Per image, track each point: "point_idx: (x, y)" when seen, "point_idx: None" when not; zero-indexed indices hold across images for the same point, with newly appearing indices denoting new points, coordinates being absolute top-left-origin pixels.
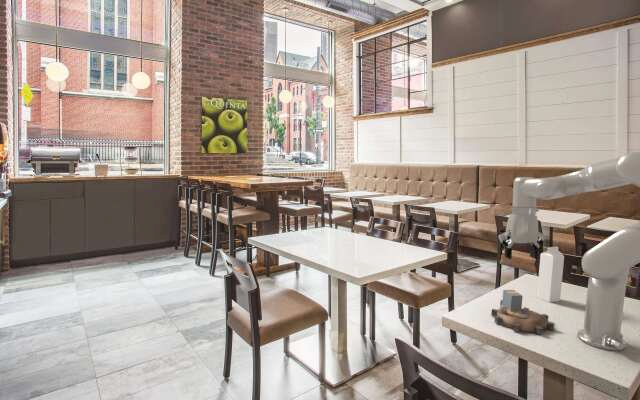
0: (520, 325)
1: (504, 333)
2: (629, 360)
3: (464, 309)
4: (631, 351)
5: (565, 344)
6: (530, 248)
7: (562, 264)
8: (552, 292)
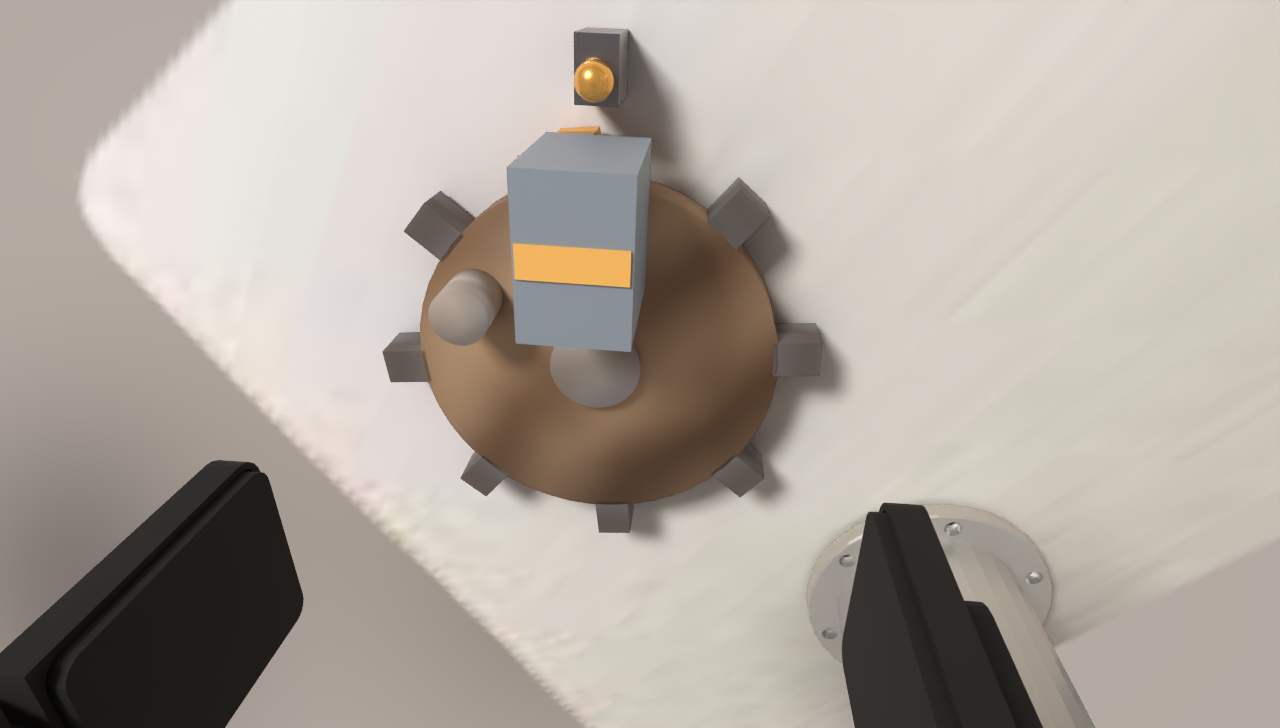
0: (510, 473)
1: (410, 462)
2: None
3: (230, 55)
4: None
5: (687, 592)
6: (922, 692)
7: None
8: None
